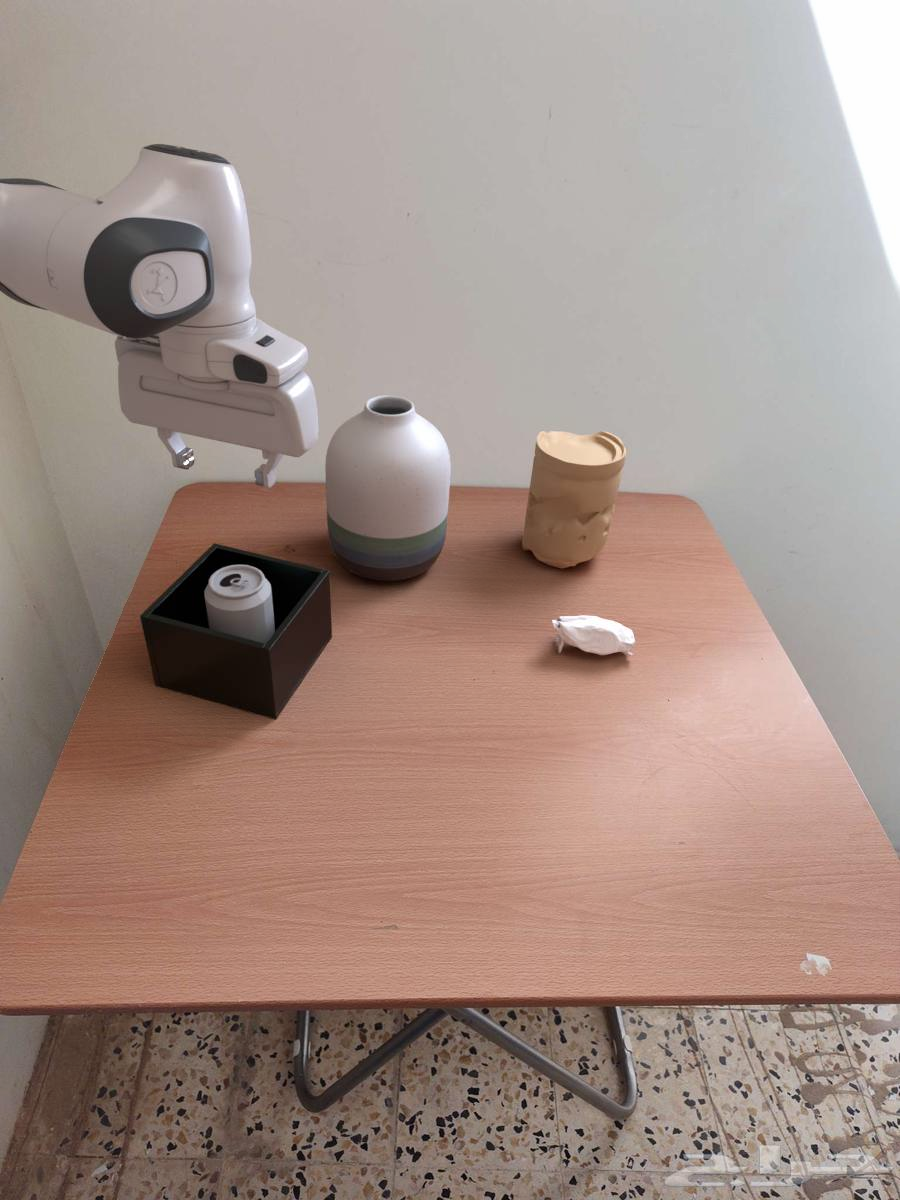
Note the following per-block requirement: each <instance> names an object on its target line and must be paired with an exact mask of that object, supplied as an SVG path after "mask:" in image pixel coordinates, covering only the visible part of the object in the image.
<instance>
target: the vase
mask: <svg viewBox="0 0 900 1200" xmlns="http://www.w3.org/2000/svg"><path fill="white" fill-rule="evenodd" d="M451 461H452V460H451V455H450V451H449V447H448V444H447V442H446V440H445V437H444V435H443V434H442V433H441V432H440V430H438V428H437V427H436V426H434V424H432V423H431V422H430V421H429V420H427V419H426V418H425V417H423V416H421V415H419V414H418V413H417V412H416V409H415V405H414V403H413V401H411V400H409V399H407V398H405V397H402V396H398V395H389V394H388V395H387V394H386V395H377V396H374V397H371V398H369V399H367V400H366V401H365V403H364V407H363V410H362V411H360V412H359V413H357V414H355V415H353V416H351V417H350V418H349V419H347V420H346V421H344V422H343V423H342V424H341V425H340V426H339V427H338V428H337V429H336V430H335V431H334V433H333V435H332V436H331V439H330V440H329V443H328V447H327V450H326V454H325V467H324V468H325V469H324V471H325V495H326V496H325V498H326V499H325V501H326V502H325V503H326V521H327V522H326V523H327V537H328V540H329V544H330V547H331V550H332V553H333V554H334V556H335V558H336V559H337V560H338V562H339V564H341V566H343V567H344V568H345V569H346V570H348V571H349V572H351V573H353V574H354V575H357V576H359V577H362V578H364V579H369V580H375V581H383V582H395V581H403V580H407V579H411V578H413V577H416V576H419V575H421V574H422V573H424V572H427V571H428V570H429V569H430V568H431V567H432V566H433V565H434V564H435V563H436V561H437V560H438V558H439V557H440V555H441V553H442V551H443V549H444V546H445V541H446V537H447V536H446V535H447V529H448V528H447V527H448V516H449V503H450V487H451V474H452V473H451V471H452V467H451V465H452V463H451Z"/></svg>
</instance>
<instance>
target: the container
mask: <svg viewBox="0 0 900 1200" xmlns="http://www.w3.org/2000/svg"><path fill="white" fill-rule="evenodd" d="M626 458H627V448H626V446H625V443H624V442H623V440H622V439H620V437H619V436H617V435H615V434H613V433H611V432H609V431H605V430H604V431H603V430H602V431H601V430H600V431H597V432H594V433H591V434H582V435H580V434H576V433H572V432H568V431H560V430H559V431H556V430H549V431H548V432H546V431H545V430H542V431H540V432H539V433H538V434H537V436H536V440H535V448H534V457H533V462H532V470H531V474H530V475H531V476H530V483H529V491H528V496H527V497H528V498H527V502H526V503H527V505H526V512H525V519H524V526H523V535H522V539H521V546H522V549H523V550H524V551H531V552H532V554H533V556H534V557H535V558H536V560H537V561H539V562H542V563H544V564H546V565H548V566H552V567H555V568H559V569H567V568H569V567H576V565H577V564H580V563H583V562H587V561H590V560H591V559H593V558H594V557H596V556H597V555H598V554H599V553H600V552H601V551H602V550H603V549H604V547H605V545H606V541H607V540H608V536H609V533H610V529H611V525H612V521H613V516H614V513H615V509H616V503H617V501H616V500H617V498H618V495H619V494H618V493H619V489H620V485H621V480H622V477H623V476H622V475H623V471H622V469H623V468H624V466H625V464H626V463H625V462H626Z"/></svg>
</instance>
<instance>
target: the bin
mask: <svg viewBox="0 0 900 1200" xmlns="http://www.w3.org/2000/svg"><path fill="white" fill-rule="evenodd" d="M231 565H249V566H252V567H255V568H257V569H259V570H260V571H261V572H262V573H263V574H264V577H265V578H266V579H267V580H268V582H269V583H270V584H271V591H272V602H273V613H274V624H275V633H274V634H273V635H272V637H271V638H270V639H269V641H268V642H267V643H266V644H265V643H261V642H257V641H254V640H250V639H246V638H242V637H238V636H234V635H231V634H227V633H223V632H219V631H215V630H211V629H210V628H209V622H208V615H207V609H206V602H205V592H204V591H205V589H206V587H207V585H208V584H209V579H210V577H211V575H212V574H214V573H215V572H216V571H217V570H219V569H221V568H223V567H227V566H231ZM331 594H332V593H331V570H328V569H324V568H322V567H321V568H320V567H317V566H312V565H308V564H304V563H299V562H294V561H291V560H287V559H282V558H278V557H274V556H270V555H266V554H261V553H257V552H254V551H249V550H245V549H240V548H235V547H232V546H227V545H223V544H220V543H213V544H211V546H210V547H209V548H208V549H206V550H205V551H204V552H203V553H202V554H201V555H200V556H199V557H198V558H197V559H196V560H195V561H194V562H193V563H192V564H191V565H190V566H189V567H188V568H187V569H186V570H185V571H184V572H183V573H182V574H180V576H179V577H178V578H177V579H176V580H175V581H174V582H173V583H172V584H171V585H169V587H168V588H166V589H165V591H164V592H163V593H162V594H160V596H158V597H157V598H156V599H155V600H154V601H153V602H152V603H151V604H150V605H149V606H148V607H147V608H146V609H145V610H144V611H143V612H142V613H141V614H140V615H139V619H140V622H141V627H142V632H143V636H144V641H145V645H146V650H147V655H148V659H149V663H150V668H151V674H152V677H153V682H154V686H156V687H157V688H158V687H159V688H162V689H166V690H169V691H174V692H176V693H180V694H183V695H186V696H191V697H194V698H198V699H202V700H205V701H208V702H212V703H216V704H220V705H223V706H226V707H229V708H233V709H237V710H241V711H244V712H248V713H251V714H255V715H259V716H262V717H265V718H269V719H273V720H278V717H279V716H280V715H281V713H282V712H283V710H284V709H285V708H286V706H287V705H288V703H289V702H290V700H291V699H292V697H293V696H294V694H295V693H296V691H297V690H298V688H299V687H300V685H301V684H302V682H303V681H304V679H305V678H306V676H307V675H308V673H309V672H310V671H311V669H312V668H313V666H314V664H316V662H317V660H318V659H319V657H320V656H321V654H322V653H323V651H324V650H325V648H326V647H327V645H328V644H329V643H330V641H331V639H332V638H333V626H332V625H333V624H332V623H333V622H332V598H331V597H332V595H331Z"/></svg>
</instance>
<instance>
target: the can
mask: <svg viewBox="0 0 900 1200" xmlns="http://www.w3.org/2000/svg"><path fill="white" fill-rule="evenodd" d="M204 592H205V602H206V609H207V615H208V622H209V628H210V629H211V630H215V631H219V632H223V633H227V634H231V635H234V636H238V637H242V638H246V639H250V640H254V641H257V642H261V643H265V644H266V643H267V642H268V641H269V639H270V638H271V637H272V635H273V634H274V633H275V624H274V613H273V602H272V591H271V584H270V583H269V582H268V580H267V579H266V578H265V577H264V574H263V573H262V572H261V571H260V570H259V569H257V568H255V567H252V566H249V565H231V566H227V567H223V568H221V569H219V570H217V571H216V572H215V573H214V574H212V575H211V577H210V579H209V584H208V585H207V587H206V589H205V591H204Z"/></svg>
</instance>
